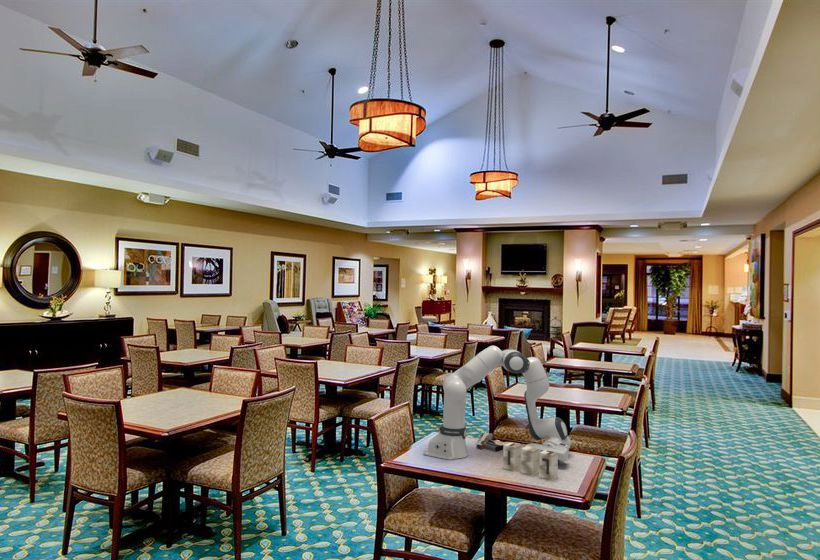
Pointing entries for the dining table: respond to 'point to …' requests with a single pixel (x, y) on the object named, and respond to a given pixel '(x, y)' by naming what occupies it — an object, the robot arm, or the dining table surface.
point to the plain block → (530, 461)
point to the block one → (512, 456)
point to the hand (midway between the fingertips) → (539, 455)
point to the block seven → (548, 465)
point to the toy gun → (488, 443)
